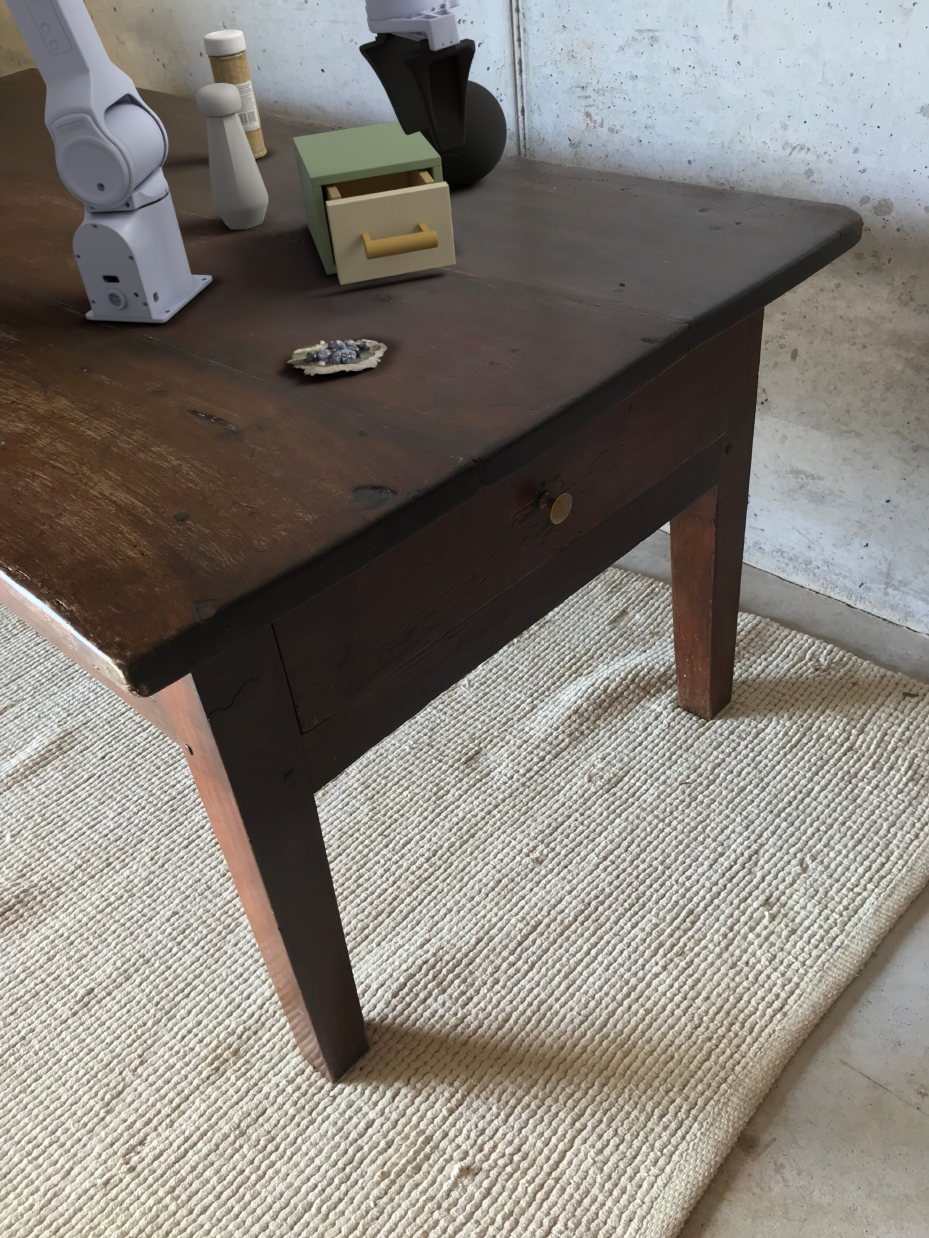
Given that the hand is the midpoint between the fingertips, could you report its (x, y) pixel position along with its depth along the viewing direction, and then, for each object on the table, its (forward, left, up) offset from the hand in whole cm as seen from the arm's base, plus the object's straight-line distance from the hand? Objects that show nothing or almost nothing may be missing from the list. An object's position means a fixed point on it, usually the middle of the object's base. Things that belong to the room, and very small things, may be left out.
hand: (433, 139), depth 82 cm
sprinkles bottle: (+36, +36, -12) cm, 53 cm away
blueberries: (-15, +4, -12) cm, 20 cm away
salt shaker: (+14, +26, -12) cm, 33 cm away
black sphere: (+27, +6, -12) cm, 31 cm away
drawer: (+4, +7, -11) cm, 14 cm away
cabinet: (+10, +10, -12) cm, 19 cm away
